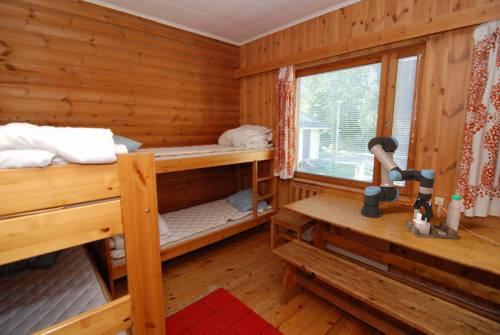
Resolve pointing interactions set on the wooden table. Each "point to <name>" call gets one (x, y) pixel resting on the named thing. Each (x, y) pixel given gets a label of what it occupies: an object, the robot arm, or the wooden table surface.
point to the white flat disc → (441, 232)
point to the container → (421, 223)
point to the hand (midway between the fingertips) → (421, 222)
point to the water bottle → (454, 212)
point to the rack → (433, 231)
